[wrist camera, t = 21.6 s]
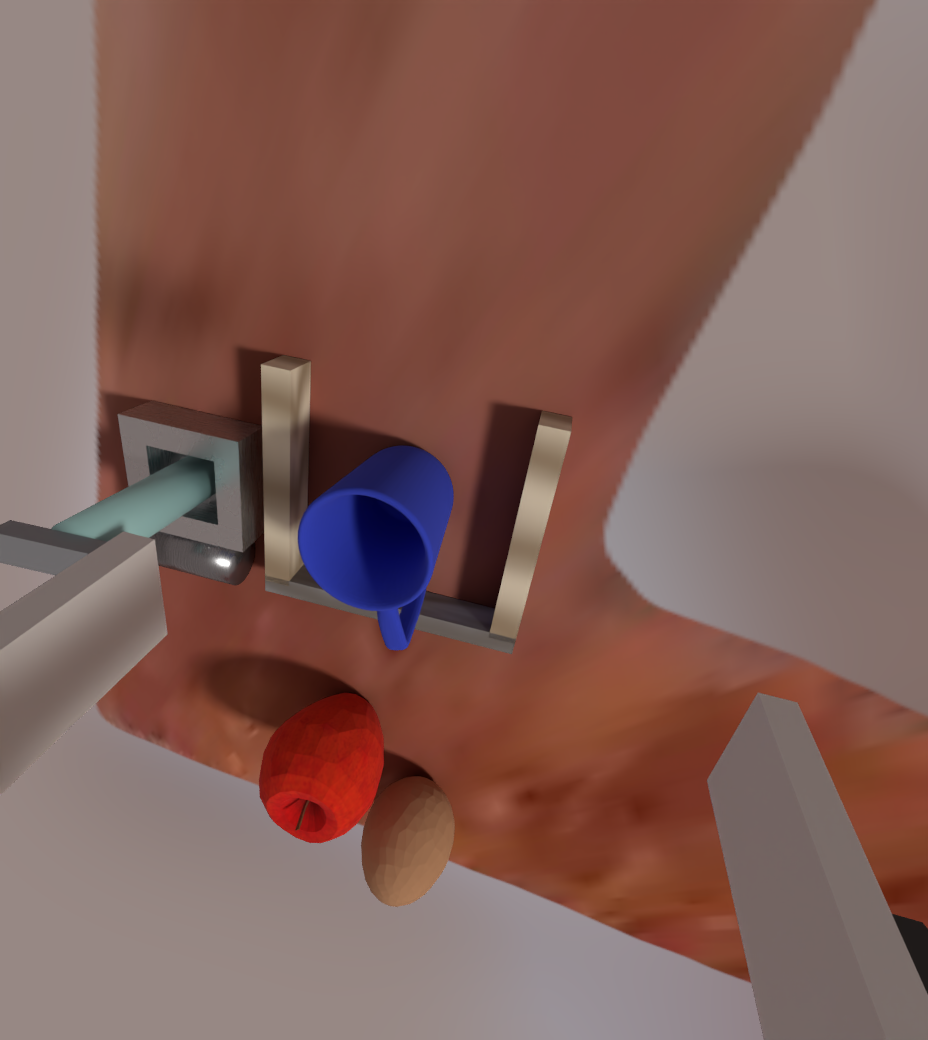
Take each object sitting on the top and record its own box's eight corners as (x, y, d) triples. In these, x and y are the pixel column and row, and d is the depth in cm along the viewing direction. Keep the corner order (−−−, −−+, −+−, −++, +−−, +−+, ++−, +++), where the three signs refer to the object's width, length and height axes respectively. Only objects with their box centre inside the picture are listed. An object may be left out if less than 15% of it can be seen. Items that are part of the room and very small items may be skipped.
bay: (283, 355, 38) (260, 364, 35) (572, 417, 36) (571, 431, 33) (283, 570, 47) (265, 590, 44) (516, 629, 45) (511, 654, 42)
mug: (382, 578, 45) (333, 661, 36) (345, 436, 40) (278, 493, 31) (481, 575, 43) (454, 662, 34) (456, 425, 38) (417, 484, 29)
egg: (384, 801, 58) (343, 916, 49) (383, 747, 55) (339, 860, 45) (461, 818, 57) (435, 940, 47) (466, 764, 53) (439, 885, 44)
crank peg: (151, 444, 42) (-16, 520, 30) (249, 463, 41) (116, 549, 29) (157, 485, 44) (-1, 572, 32) (252, 504, 43) (126, 601, 31)
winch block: (152, 400, 42) (112, 416, 38) (264, 426, 41) (234, 444, 37) (169, 546, 48) (136, 570, 44) (266, 570, 47) (241, 598, 44)
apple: (284, 697, 54) (210, 811, 43) (345, 650, 50) (279, 765, 39) (359, 758, 56) (306, 882, 45) (424, 719, 52) (382, 845, 41)
